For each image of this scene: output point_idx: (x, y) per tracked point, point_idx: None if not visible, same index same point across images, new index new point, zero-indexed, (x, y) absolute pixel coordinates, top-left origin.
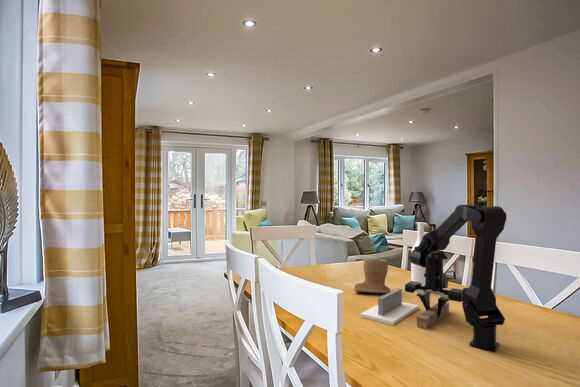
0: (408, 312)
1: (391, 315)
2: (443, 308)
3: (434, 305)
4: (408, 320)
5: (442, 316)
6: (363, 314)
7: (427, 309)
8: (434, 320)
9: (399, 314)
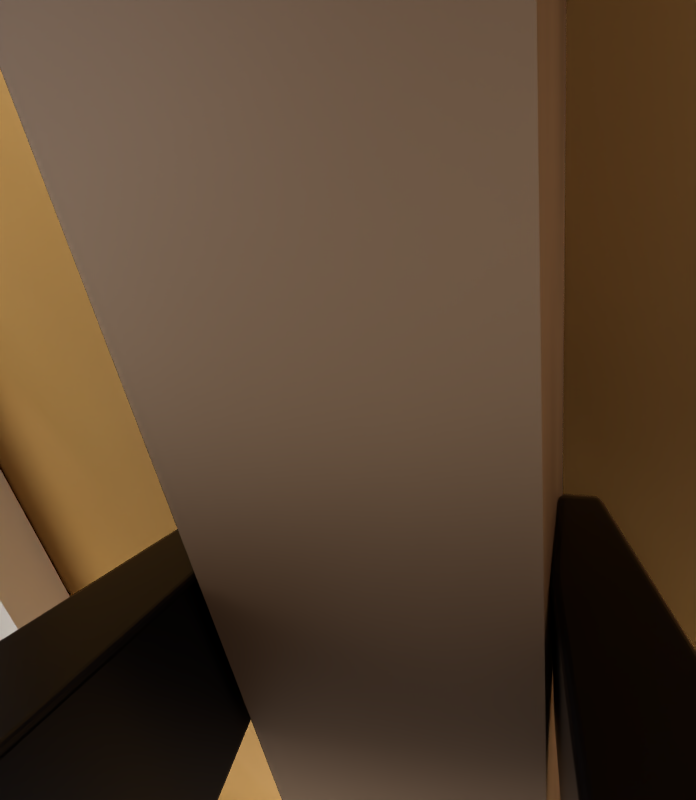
0: (2, 584)
1: None
2: (544, 2)
3: (62, 195)
4: None
5: (565, 129)
6: None
7: (237, 718)
8: None
9: None
